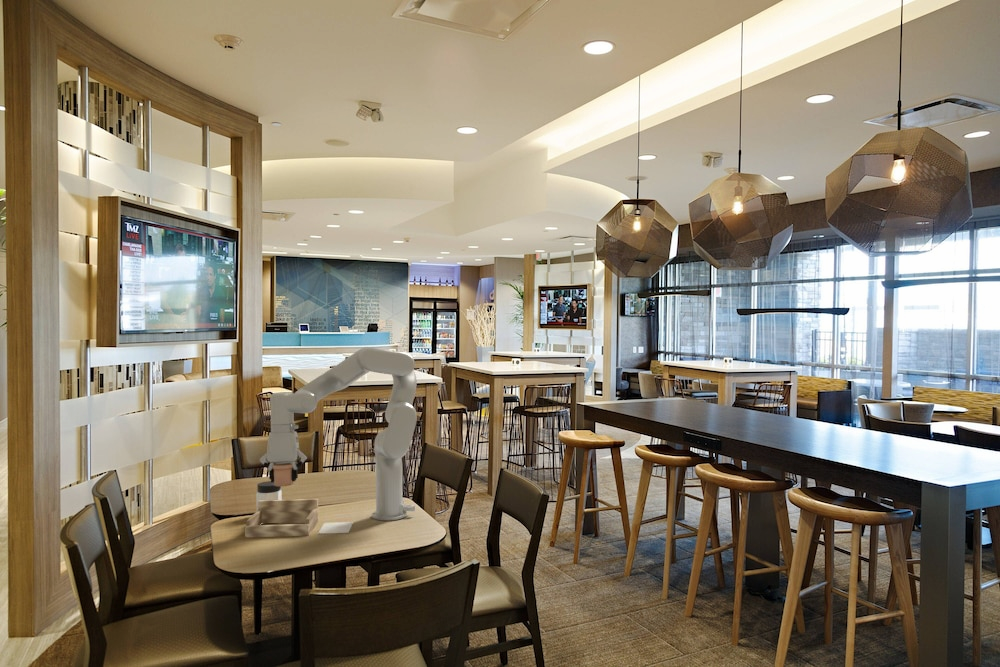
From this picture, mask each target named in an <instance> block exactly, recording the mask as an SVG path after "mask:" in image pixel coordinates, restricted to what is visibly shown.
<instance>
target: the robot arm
mask: <svg viewBox="0 0 1000 667" xmlns="http://www.w3.org/2000/svg"><path fill="white" fill-rule="evenodd" d="M415 366H416V364H415V358H414V357H413V356H412V355H411V354H410V353H408V352H404V351H399V350H398V351H397V350H390V349H383V348H376V347H373V346H371V347H369V346H365V347H362V348H360V349H358V350H357V351H356V352H354V353H352V354H351V355H349V356H348V357H347V358H345V359H344V360H342V361H340V362H339V363H338V364H336V365H335V366H333V367H331V368H330V369H329V370H327V371H325V372H324V373H322V374H320V375H319V376H317V377H316V378H314V379H312V380H310V381H309V382H308V383H306V384H305V385H304V386H302V387H301V388H299V389H298V390H297V391H295V392H294V393H292V392H287V391H286V392H285V391H284V392H282V391H281V392H274V393H272V394H271V395H270V397H269V398H270V399H269V400H270V401H269V402H270V405H269V406H270V432H269V434H268V438H267V445H266V446H267V449H266V452H265V453H264V455H262V456H261V457H260V458H259V462H260V463H261V464H262V465H263V466H264V467H265V468H266V469H267V471H269V472H268V473H269V480H270V481H271V482H274V469H272V465H274V464H275V463H280V462H291V464H292V467H293V470H292V481H293V482H296V480H297V479H298V476H299V474H298V472H299V470H298V469H299V467H301V465H302V464H303V463H304V462H305V461H306V460H307V459H308V456H306V455H305V454H304V453H303V452H302V451H301V450H300V442H299V436H298V432H297V431H295V430H297V429H299V424H295V419H294V418H295V414H296V413H297V414H310V413H312V412H313V411H314V410H316V409H317V406H318V402H319V401H321V400H322V399H324V398H325V397H327V396H329V395H331V394H333V393H336V392H339V391H342V390H344V389H346V388H349V386H350V385H352V384H353V383H354V382H356V381H357V380H359V379H361V378H362V377H363V376H365V375H367V374H368V373H370V372H372V373H378V374H384V375H391V376H392V380H393V381H392V382H393V384H392V389H391V393H390V396H389V400H388V403H387V406H386V408H385V414H384V417H385V421H386V422H387V423H388V426H387V428H385V429H382V430H381V431H379V432H378V433H377V434H376V436H375V437H374V443H373V444H374V455H375V456H374V457H375V501H376V502H375V505H376V506H375V508H376V510H375V511H373V512H372V513H371V518H372V519H373V520H376V521H385V522H386V521H396V520H401V519H404V518H406V517H407V515H408V512H415V511H416V506H415V505H413V504H405V501H404V500H403V457H404V456H405V455H406V454H407V453H408V451H409V448H410V446H411V442H412V440H413V435H414V432H415V428H416V425H417V421H418V420H417V418H418V413H417V411H416V409H415V407H414V406H413V403H414V399H415V395H416V391H417V376H416V375H417V374H416V372H415ZM294 413H295V414H294ZM299 458H300V459H299ZM298 459H299V461H298ZM297 461H298V462H297Z"/></svg>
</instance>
